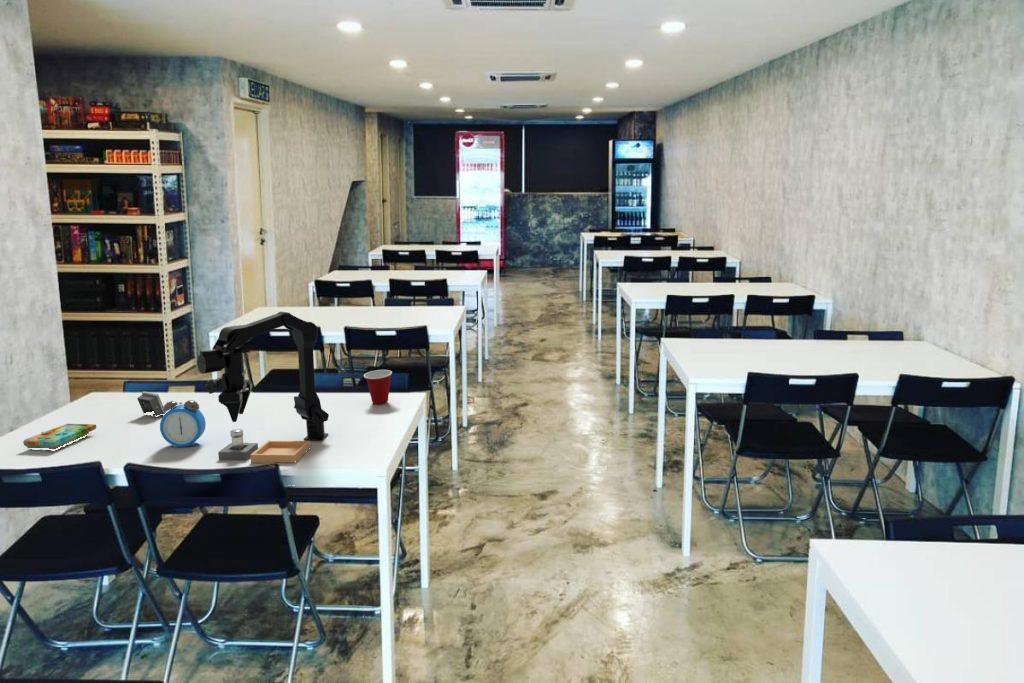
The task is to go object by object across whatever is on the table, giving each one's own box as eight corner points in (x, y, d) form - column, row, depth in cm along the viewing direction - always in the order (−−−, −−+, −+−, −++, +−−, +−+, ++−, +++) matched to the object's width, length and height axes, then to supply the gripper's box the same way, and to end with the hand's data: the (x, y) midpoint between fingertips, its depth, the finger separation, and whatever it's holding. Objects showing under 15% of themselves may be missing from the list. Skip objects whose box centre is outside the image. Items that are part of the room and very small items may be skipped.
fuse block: (231, 450, 267) (230, 442, 266) (258, 450, 266) (257, 443, 265) (218, 459, 258) (218, 452, 258) (246, 459, 257) (245, 452, 257)
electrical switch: (167, 415, 310) (162, 392, 308) (155, 420, 306) (150, 397, 304) (152, 412, 315) (147, 389, 313) (139, 417, 311) (134, 394, 309)
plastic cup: (359, 404, 319) (357, 373, 317) (381, 398, 327) (379, 368, 324) (377, 408, 312) (375, 377, 309) (399, 402, 320) (397, 371, 317)
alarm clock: (161, 448, 271) (156, 404, 268) (168, 442, 277) (163, 399, 274) (202, 446, 271) (197, 402, 269) (208, 441, 278) (203, 397, 275)
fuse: (235, 453, 264) (233, 429, 262) (247, 453, 264) (244, 429, 262) (230, 457, 260) (228, 432, 259) (242, 457, 260) (239, 432, 258)
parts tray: (268, 448, 268) (268, 440, 268) (310, 448, 266) (310, 440, 266) (251, 462, 254) (250, 454, 254) (295, 462, 253) (294, 455, 252)
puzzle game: (22, 438, 272) (66, 421, 291) (24, 452, 273) (68, 434, 292) (53, 439, 269) (95, 422, 289) (55, 453, 270) (97, 435, 290)
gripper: (214, 363, 262) (218, 411, 265) (198, 375, 244) (202, 427, 246) (250, 362, 263) (254, 409, 266) (237, 374, 245) (241, 425, 247)
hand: (237, 417), depth 256 cm, fingers open, 9 cm apart
